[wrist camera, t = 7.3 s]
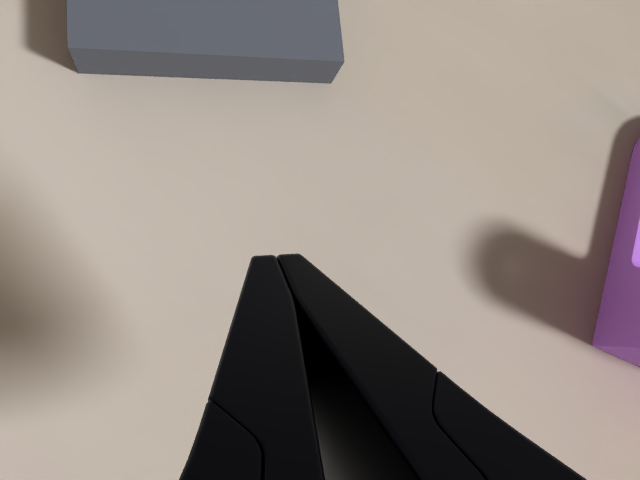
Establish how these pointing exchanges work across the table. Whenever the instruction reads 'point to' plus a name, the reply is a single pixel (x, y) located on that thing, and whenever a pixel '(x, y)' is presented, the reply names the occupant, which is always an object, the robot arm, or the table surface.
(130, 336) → the table surface
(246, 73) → the tile
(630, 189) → the bracket
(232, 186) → the table surface
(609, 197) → the table surface
